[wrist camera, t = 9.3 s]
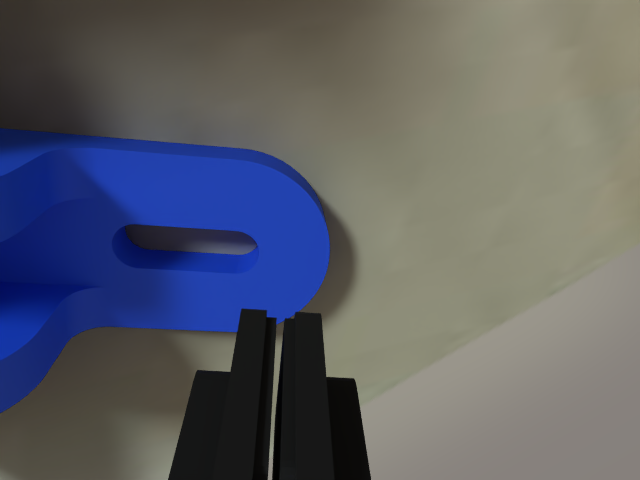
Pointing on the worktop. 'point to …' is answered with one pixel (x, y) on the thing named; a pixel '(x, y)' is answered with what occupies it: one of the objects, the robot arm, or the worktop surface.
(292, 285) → the bracket
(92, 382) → the worktop surface
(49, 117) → the worktop surface
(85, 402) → the worktop surface
